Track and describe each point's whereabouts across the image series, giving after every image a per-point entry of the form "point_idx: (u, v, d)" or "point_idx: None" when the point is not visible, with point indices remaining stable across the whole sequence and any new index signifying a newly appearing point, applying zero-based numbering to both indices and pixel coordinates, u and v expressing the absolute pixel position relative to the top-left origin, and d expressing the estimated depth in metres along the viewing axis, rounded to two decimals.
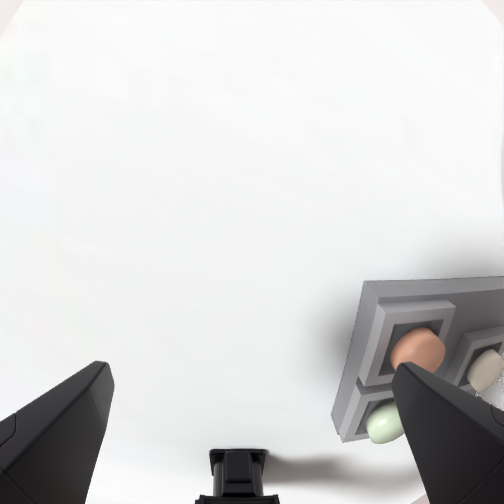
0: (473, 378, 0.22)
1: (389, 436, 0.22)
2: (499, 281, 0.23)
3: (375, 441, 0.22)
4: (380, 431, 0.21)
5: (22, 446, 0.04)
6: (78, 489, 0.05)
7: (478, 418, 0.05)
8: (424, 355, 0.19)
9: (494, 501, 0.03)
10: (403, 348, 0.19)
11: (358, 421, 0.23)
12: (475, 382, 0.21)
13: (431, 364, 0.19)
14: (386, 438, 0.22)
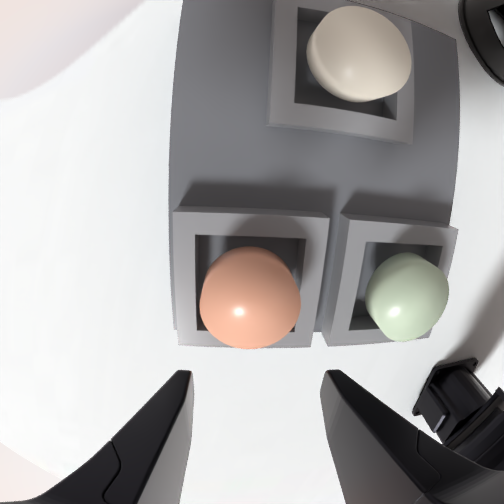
0: (367, 98, 0.11)
1: (431, 303, 0.13)
2: None
3: (429, 325, 0.14)
4: (406, 328, 0.13)
5: (134, 479, 0.04)
6: None
7: (396, 446, 0.05)
8: (232, 312, 0.13)
9: None
10: None
11: None
12: (375, 97, 0.10)
13: (260, 287, 0.12)
14: (434, 306, 0.13)
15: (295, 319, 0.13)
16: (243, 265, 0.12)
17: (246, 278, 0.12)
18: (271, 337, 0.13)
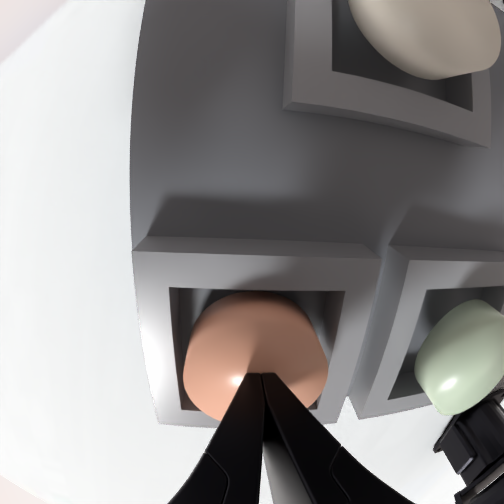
0: (447, 71, 0.05)
1: (497, 367, 0.08)
2: None
3: (488, 390, 0.08)
4: (463, 400, 0.08)
5: (243, 489, 0.04)
6: None
7: (307, 461, 0.05)
8: (230, 387, 0.08)
9: None
10: None
11: None
12: (462, 71, 0.05)
13: (271, 357, 0.08)
14: (499, 369, 0.08)
15: (319, 392, 0.08)
16: (246, 329, 0.08)
17: (250, 346, 0.08)
18: None
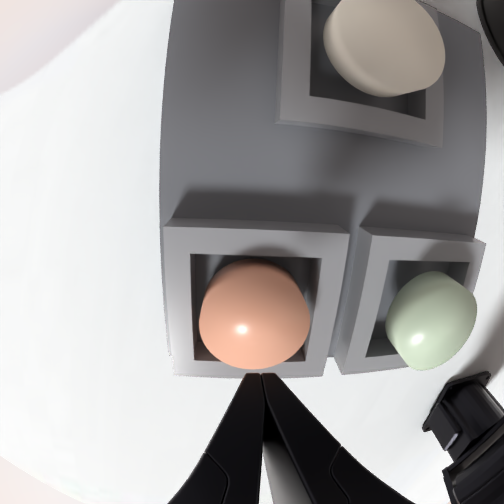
0: (396, 92, 0.08)
1: (458, 328, 0.11)
2: None
3: (454, 351, 0.11)
4: (430, 356, 0.11)
5: (242, 488, 0.04)
6: None
7: (307, 461, 0.05)
8: (235, 331, 0.11)
9: None
10: None
11: None
12: (406, 91, 0.08)
13: (266, 305, 0.11)
14: (461, 331, 0.11)
15: (304, 338, 0.12)
16: (247, 281, 0.11)
17: (250, 295, 0.11)
18: (277, 357, 0.12)
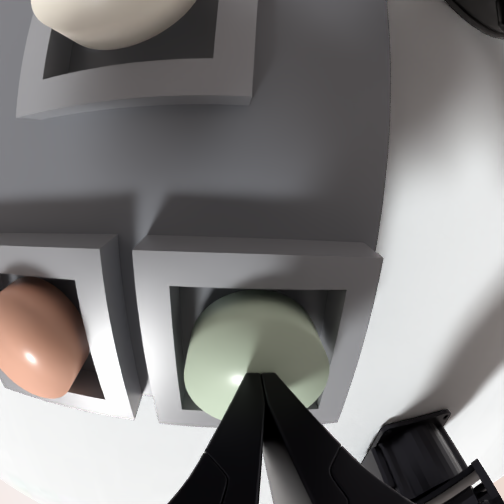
0: (114, 31, 0.05)
1: (292, 379, 0.08)
2: None
3: None
4: None
5: (243, 489, 0.04)
6: None
7: (307, 461, 0.05)
8: (9, 354, 0.08)
9: None
10: None
11: None
12: (111, 23, 0.04)
13: (19, 331, 0.07)
14: (301, 383, 0.08)
15: (69, 375, 0.08)
16: None
17: (5, 318, 0.07)
18: (54, 390, 0.08)
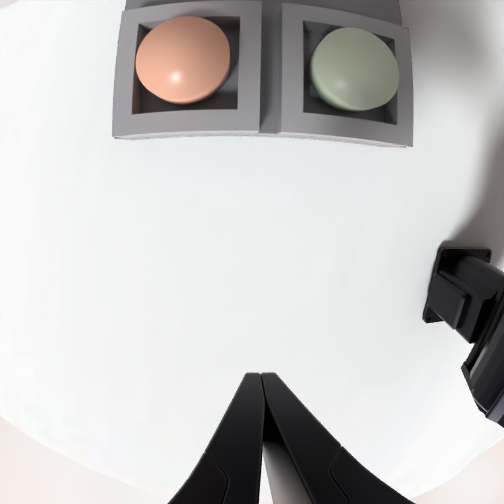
0: None
1: (379, 69, 0.11)
2: None
3: (387, 95, 0.12)
4: (357, 90, 0.12)
5: (243, 489, 0.04)
6: None
7: (307, 461, 0.05)
8: (164, 60, 0.11)
9: None
10: (160, 97, 0.12)
11: (357, 122, 0.13)
12: None
13: (190, 36, 0.11)
14: (385, 73, 0.11)
15: (225, 63, 0.11)
16: (175, 20, 0.10)
17: (178, 30, 0.10)
18: (202, 83, 0.11)
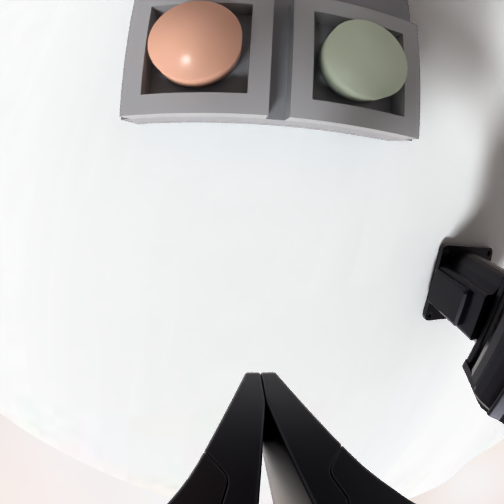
0: None
1: (388, 60, 0.11)
2: None
3: (395, 87, 0.12)
4: (366, 80, 0.12)
5: (243, 489, 0.04)
6: None
7: (307, 461, 0.05)
8: (176, 41, 0.11)
9: None
10: (170, 78, 0.12)
11: (365, 112, 0.13)
12: None
13: (203, 19, 0.10)
14: (393, 65, 0.11)
15: (238, 47, 0.11)
16: (189, 4, 0.10)
17: (191, 13, 0.10)
18: (213, 65, 0.11)
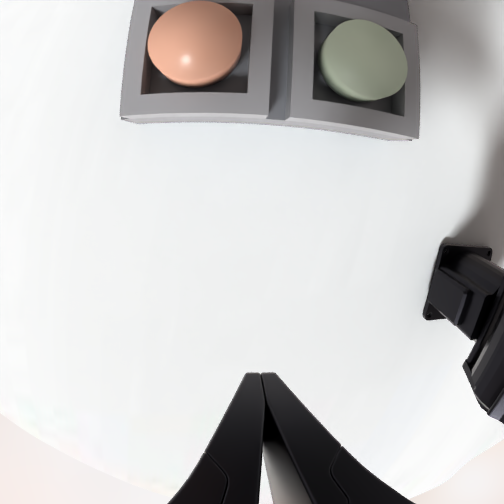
0: None
1: (388, 60, 0.11)
2: None
3: (395, 87, 0.12)
4: (366, 80, 0.12)
5: (243, 489, 0.04)
6: None
7: (307, 461, 0.05)
8: (176, 41, 0.11)
9: None
10: (170, 78, 0.12)
11: (365, 112, 0.13)
12: None
13: (203, 19, 0.10)
14: (393, 65, 0.11)
15: (238, 47, 0.11)
16: (189, 4, 0.10)
17: (191, 13, 0.10)
18: (213, 65, 0.11)
